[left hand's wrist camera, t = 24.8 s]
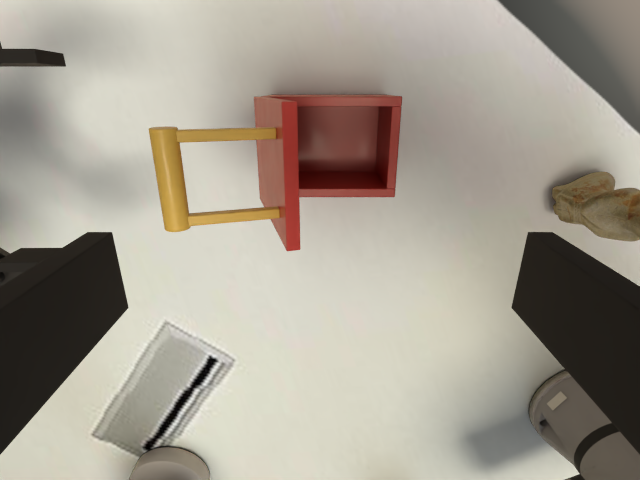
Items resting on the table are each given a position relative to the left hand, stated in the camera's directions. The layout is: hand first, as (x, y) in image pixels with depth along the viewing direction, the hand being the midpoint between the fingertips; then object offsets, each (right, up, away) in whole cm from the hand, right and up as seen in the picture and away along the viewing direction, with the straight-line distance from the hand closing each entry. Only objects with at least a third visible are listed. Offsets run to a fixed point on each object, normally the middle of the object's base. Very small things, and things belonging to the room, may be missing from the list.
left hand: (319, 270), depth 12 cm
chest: (+1, +13, +33) cm, 35 cm away
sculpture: (+32, +7, +35) cm, 48 cm away
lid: (-3, +7, +18) cm, 19 cm away
